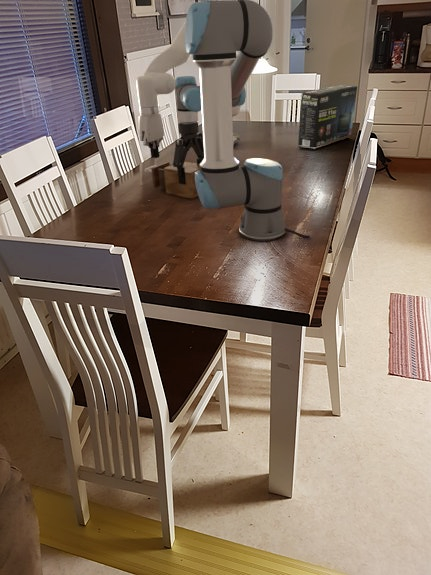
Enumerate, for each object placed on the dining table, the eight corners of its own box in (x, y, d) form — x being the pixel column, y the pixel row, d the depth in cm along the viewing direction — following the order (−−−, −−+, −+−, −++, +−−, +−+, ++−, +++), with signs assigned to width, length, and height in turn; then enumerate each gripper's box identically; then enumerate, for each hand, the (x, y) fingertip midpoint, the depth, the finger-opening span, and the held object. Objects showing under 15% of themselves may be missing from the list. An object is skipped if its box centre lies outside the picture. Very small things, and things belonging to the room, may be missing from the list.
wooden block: (166, 193, 186) (163, 168, 180) (183, 185, 193) (181, 161, 188) (192, 198, 179) (190, 172, 174) (208, 190, 186) (207, 165, 181)
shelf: (142, 185, 192) (140, 165, 188) (158, 178, 199) (156, 159, 195) (175, 192, 183) (173, 172, 179) (191, 185, 190) (189, 165, 186)
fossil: (229, 142, 236) (210, 124, 240) (219, 159, 243) (200, 141, 246) (247, 141, 250) (228, 123, 253) (236, 157, 257) (218, 140, 260)
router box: (314, 151, 231) (318, 94, 217) (296, 148, 237) (299, 92, 224) (352, 138, 251) (358, 85, 238) (335, 135, 258) (340, 83, 245)
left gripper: (155, 106, 186) (160, 151, 196) (129, 113, 176) (136, 161, 185) (169, 107, 182) (174, 153, 192) (143, 115, 172) (149, 163, 182)
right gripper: (199, 115, 180) (201, 170, 192) (159, 127, 164) (165, 186, 176) (214, 117, 177) (216, 172, 188) (175, 129, 160) (180, 189, 172)
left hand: (155, 157), depth 189 cm, fingers closed
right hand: (191, 179), depth 182 cm, fingers closed on wooden block, 11 cm apart
